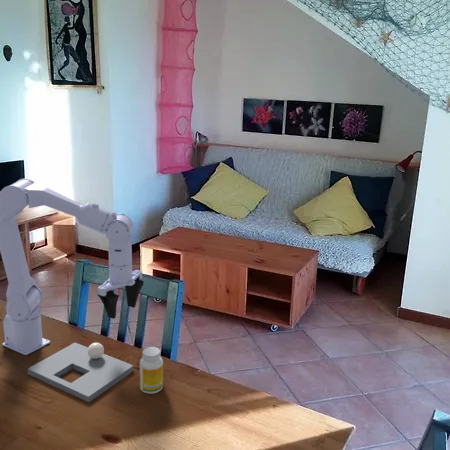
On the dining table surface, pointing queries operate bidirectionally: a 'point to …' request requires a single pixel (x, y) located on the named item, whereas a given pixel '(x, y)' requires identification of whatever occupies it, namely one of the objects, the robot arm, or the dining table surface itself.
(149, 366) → the supplement bottle
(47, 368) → the plate
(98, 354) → the ball
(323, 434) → the dining table surface
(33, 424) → the dining table surface
